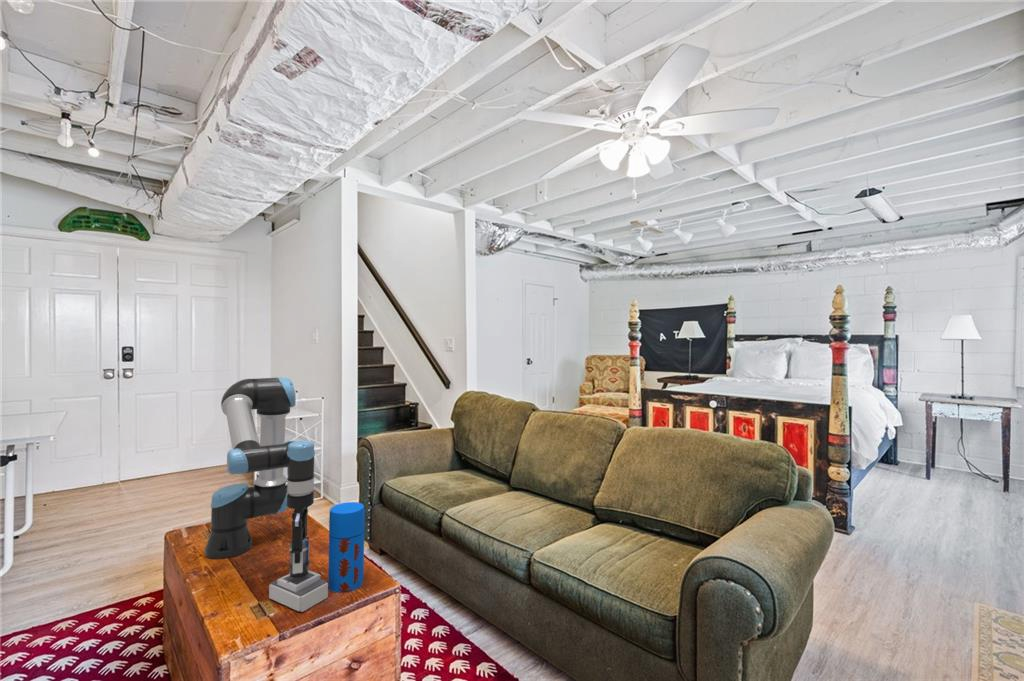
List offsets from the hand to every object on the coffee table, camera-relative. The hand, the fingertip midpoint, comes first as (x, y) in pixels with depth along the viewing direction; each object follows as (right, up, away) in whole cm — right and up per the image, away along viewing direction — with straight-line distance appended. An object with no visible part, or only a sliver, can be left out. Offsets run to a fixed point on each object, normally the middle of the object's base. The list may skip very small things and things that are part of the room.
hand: (299, 567), depth 142 cm
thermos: (+11, -10, +9) cm, 17 cm away
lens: (0, -2, 0) cm, 2 cm away
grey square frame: (0, -9, 0) cm, 9 cm away
